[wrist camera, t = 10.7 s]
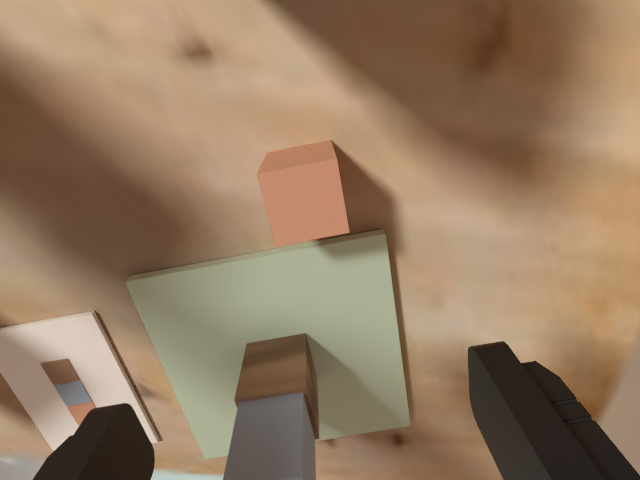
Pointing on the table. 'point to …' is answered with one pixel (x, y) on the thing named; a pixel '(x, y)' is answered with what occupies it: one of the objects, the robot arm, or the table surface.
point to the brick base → (280, 373)
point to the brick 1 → (303, 193)
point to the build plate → (281, 331)
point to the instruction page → (65, 373)
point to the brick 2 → (272, 440)
